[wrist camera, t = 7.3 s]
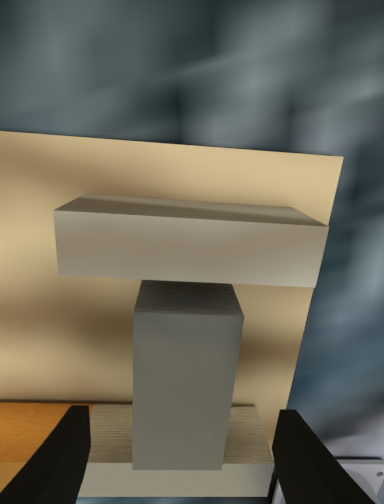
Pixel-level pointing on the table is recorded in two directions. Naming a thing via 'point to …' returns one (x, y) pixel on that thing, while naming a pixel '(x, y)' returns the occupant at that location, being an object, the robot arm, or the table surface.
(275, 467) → the robot arm
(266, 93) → the table surface
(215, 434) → the steel block
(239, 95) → the table surface
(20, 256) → the base
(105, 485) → the block
